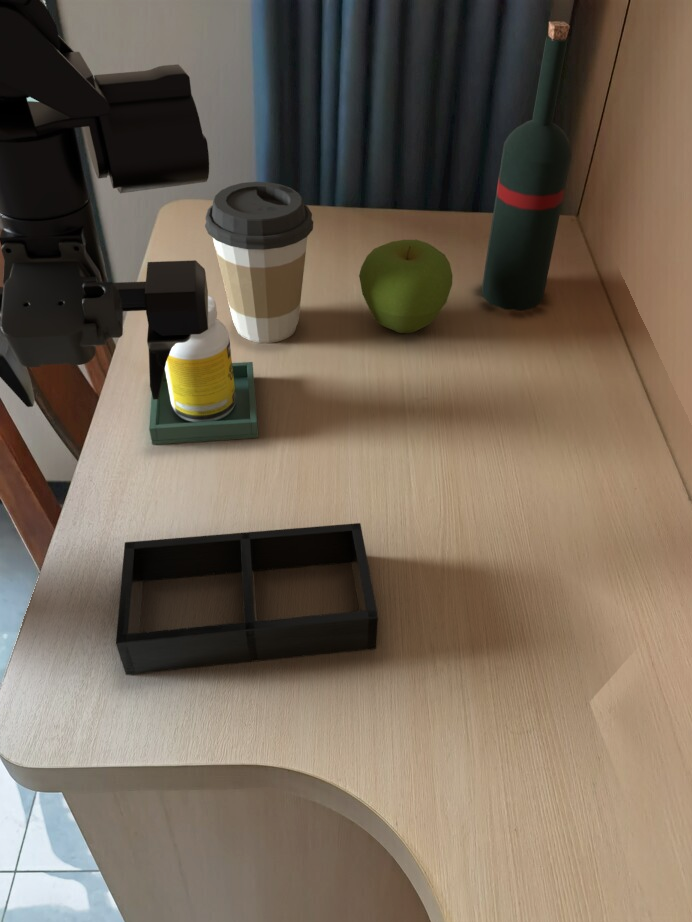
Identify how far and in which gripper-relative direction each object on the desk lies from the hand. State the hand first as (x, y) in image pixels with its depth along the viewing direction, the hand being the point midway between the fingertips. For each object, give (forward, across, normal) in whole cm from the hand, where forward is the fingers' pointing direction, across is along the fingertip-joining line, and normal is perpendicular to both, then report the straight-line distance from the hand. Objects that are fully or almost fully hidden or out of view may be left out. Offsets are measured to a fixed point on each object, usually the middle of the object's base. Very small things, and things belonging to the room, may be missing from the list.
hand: (94, 400), depth 61 cm
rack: (+13, +11, -12) cm, 20 cm away
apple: (+13, +30, +29) cm, 44 cm away
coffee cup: (+13, +14, +30) cm, 36 cm away
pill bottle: (+13, +7, +15) cm, 21 cm away
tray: (+13, +7, +15) cm, 21 cm away
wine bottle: (+13, +45, +36) cm, 59 cm away
